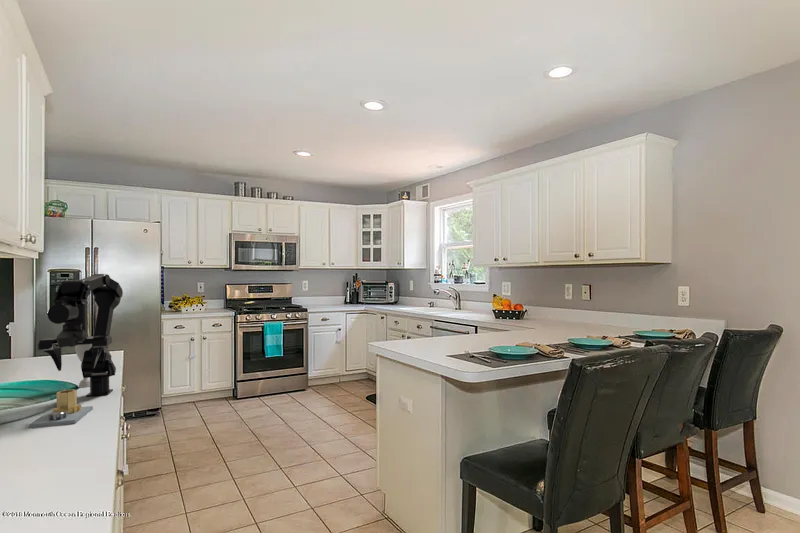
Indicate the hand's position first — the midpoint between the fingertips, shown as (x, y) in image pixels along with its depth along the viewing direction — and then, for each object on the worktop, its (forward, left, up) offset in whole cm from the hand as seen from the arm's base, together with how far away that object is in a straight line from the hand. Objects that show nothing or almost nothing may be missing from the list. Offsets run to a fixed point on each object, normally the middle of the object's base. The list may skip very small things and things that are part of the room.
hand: (76, 369), depth 149 cm
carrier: (+11, 0, -12) cm, 16 cm away
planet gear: (+8, 0, -11) cm, 14 cm away
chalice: (-31, -8, -12) cm, 34 cm away
